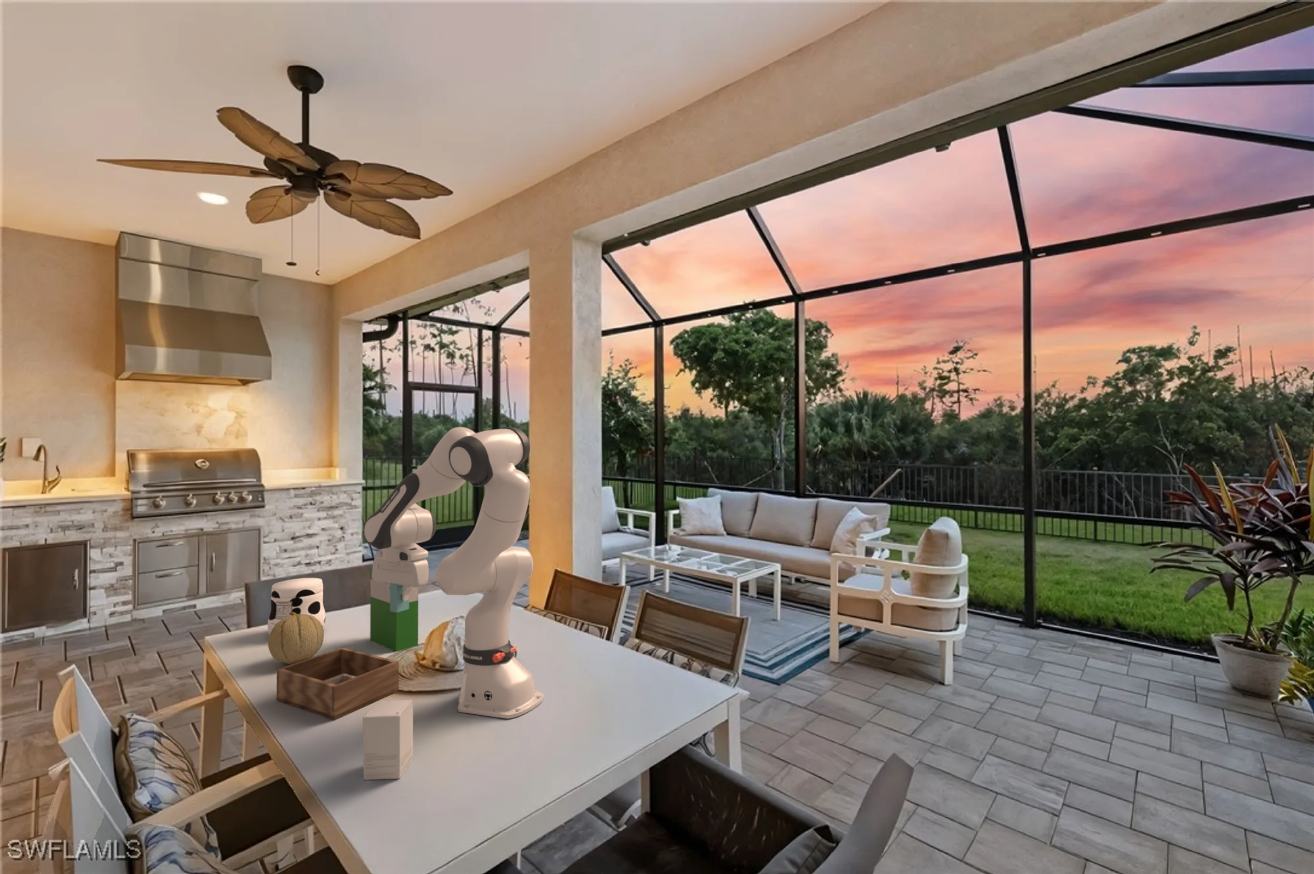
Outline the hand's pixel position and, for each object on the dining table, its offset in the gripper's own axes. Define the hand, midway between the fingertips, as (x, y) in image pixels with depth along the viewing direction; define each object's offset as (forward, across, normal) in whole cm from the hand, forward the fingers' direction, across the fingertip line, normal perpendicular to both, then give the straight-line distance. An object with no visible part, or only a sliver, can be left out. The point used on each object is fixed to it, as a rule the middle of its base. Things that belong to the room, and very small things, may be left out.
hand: (399, 599), depth 164 cm
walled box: (+22, -2, -17) cm, 28 cm away
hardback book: (+22, -24, +17) cm, 37 cm away
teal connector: (+3, 0, 0) cm, 3 cm away
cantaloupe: (+21, -36, -8) cm, 43 cm away
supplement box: (+23, +40, -34) cm, 57 cm away
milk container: (+21, -64, +8) cm, 67 cm away
